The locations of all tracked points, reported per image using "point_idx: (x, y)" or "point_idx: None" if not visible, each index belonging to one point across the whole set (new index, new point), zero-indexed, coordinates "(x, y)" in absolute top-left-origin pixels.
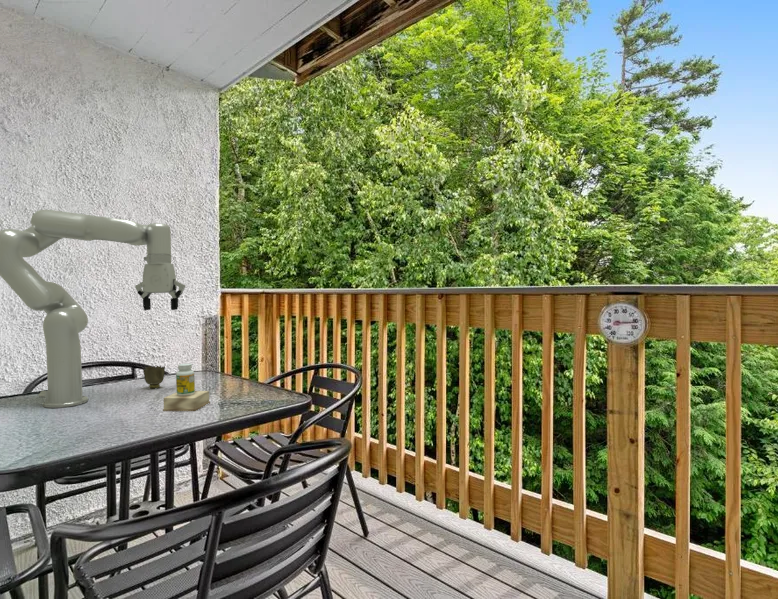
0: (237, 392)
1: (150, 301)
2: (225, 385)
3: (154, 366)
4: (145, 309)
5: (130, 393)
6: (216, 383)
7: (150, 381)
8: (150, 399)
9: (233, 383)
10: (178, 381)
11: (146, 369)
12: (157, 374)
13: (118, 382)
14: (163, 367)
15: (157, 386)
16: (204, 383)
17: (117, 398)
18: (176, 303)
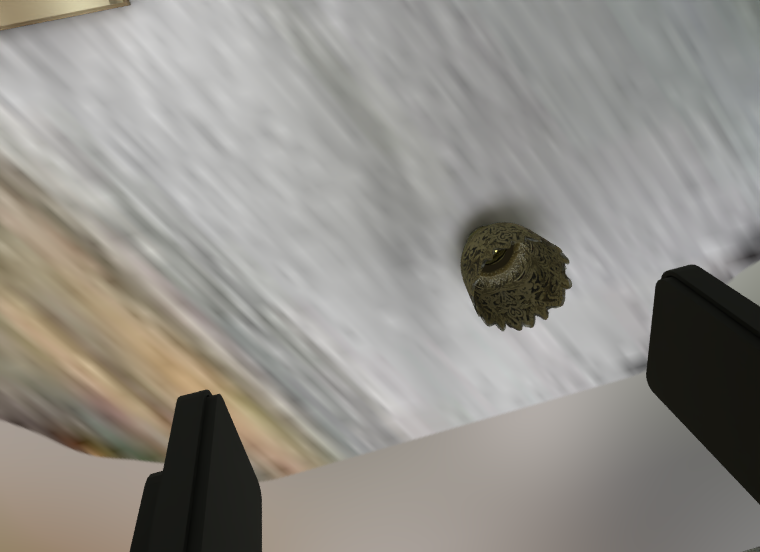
0: (29, 278)
1: (735, 478)
2: (208, 369)
3: (543, 317)
4: (669, 275)
5: (527, 129)
6: (278, 385)
7: (492, 224)
8: (345, 40)
9: None
10: None
11: (561, 278)
12: (475, 254)
13: None
14: (493, 322)
15: (467, 241)
16: (330, 370)
17: (523, 21)
18: (144, 540)
